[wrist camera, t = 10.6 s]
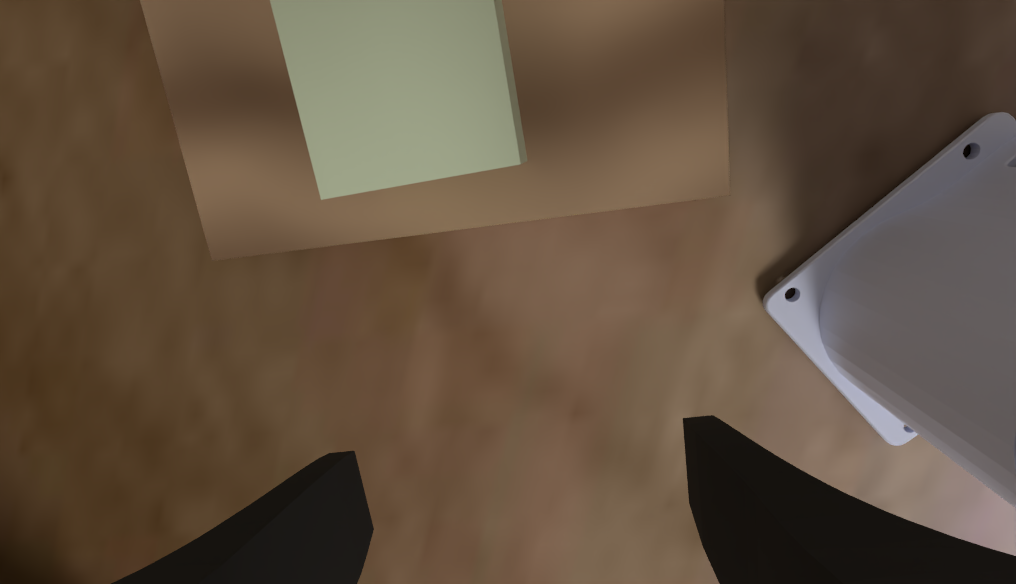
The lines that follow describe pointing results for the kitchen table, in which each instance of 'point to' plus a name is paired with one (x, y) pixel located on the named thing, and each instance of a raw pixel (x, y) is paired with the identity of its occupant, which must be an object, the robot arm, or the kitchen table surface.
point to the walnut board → (470, 197)
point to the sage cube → (400, 89)
